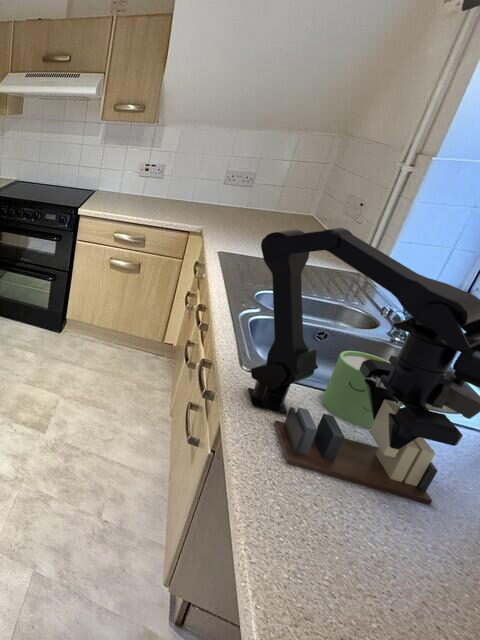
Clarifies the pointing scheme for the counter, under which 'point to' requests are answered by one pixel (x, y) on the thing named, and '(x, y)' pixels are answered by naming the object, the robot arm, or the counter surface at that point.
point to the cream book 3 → (419, 462)
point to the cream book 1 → (384, 427)
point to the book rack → (349, 462)
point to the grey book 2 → (329, 437)
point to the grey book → (306, 429)
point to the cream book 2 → (398, 461)
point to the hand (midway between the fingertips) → (385, 435)
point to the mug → (350, 389)
